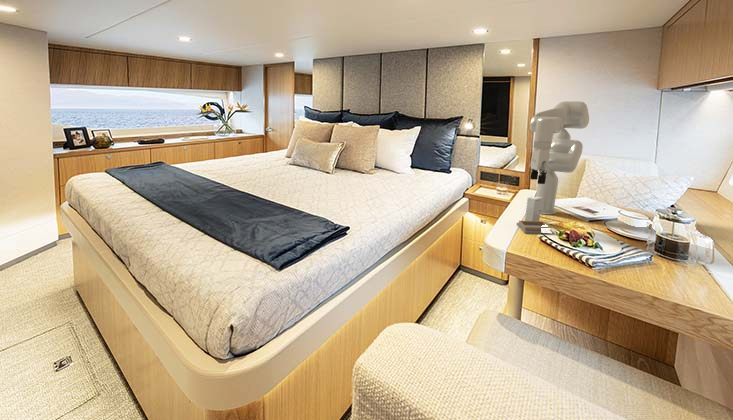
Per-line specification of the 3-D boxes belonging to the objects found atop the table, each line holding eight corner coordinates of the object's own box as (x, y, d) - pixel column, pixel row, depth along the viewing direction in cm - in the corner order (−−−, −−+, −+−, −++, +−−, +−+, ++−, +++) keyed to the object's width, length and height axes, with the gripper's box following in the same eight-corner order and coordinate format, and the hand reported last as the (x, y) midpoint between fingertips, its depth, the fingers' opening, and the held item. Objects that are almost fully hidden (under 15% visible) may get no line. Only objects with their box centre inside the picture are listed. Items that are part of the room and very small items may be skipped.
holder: (516, 224, 174) (517, 219, 173) (542, 225, 173) (543, 220, 172) (524, 233, 162) (525, 228, 162) (552, 234, 161) (553, 229, 160)
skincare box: (532, 223, 175) (535, 199, 172) (523, 221, 179) (527, 197, 175) (539, 221, 178) (543, 197, 175) (531, 219, 182) (534, 195, 179)
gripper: (527, 143, 176) (523, 177, 181) (540, 147, 160) (535, 185, 165) (543, 143, 176) (538, 178, 181) (558, 147, 159) (552, 185, 164)
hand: (537, 181), depth 173 cm, fingers open, 9 cm apart
